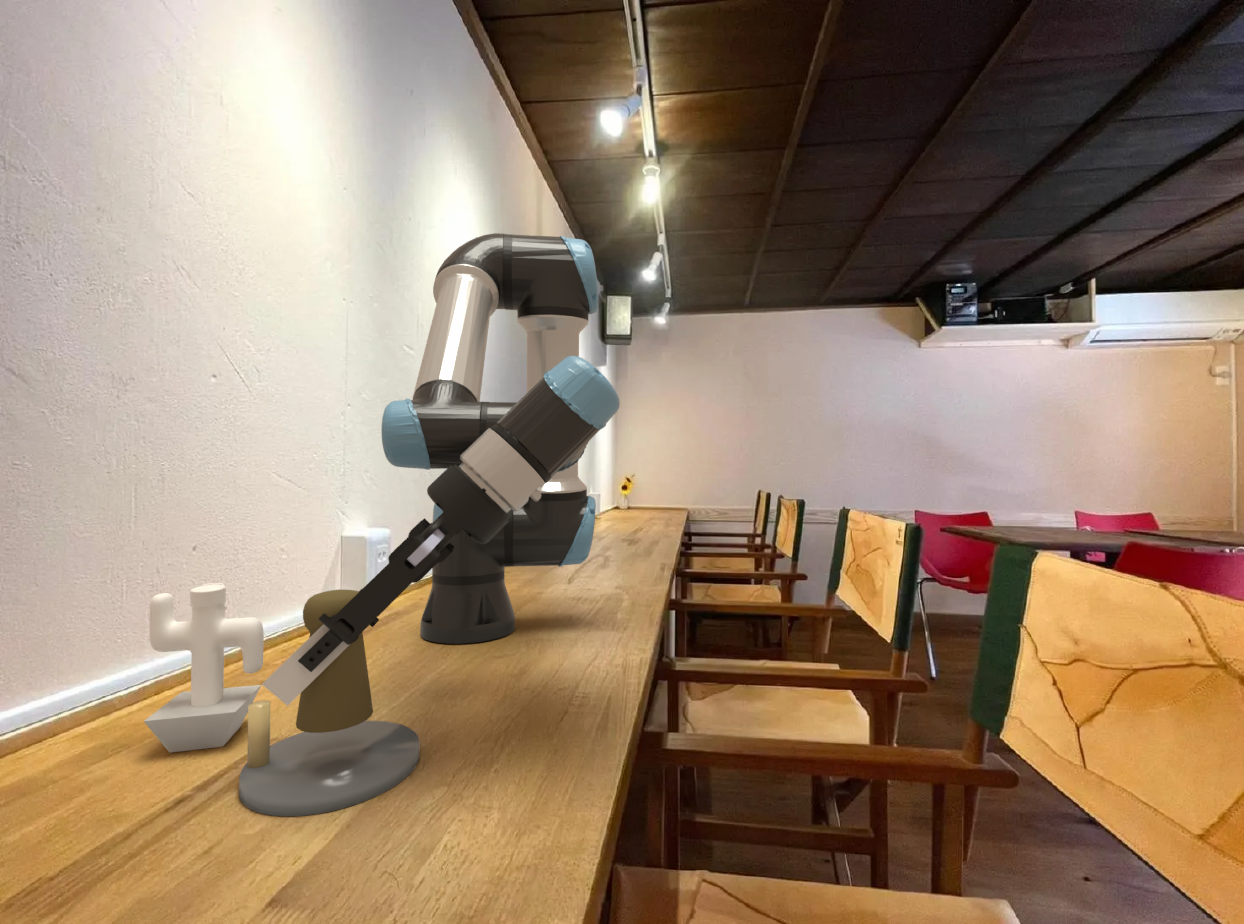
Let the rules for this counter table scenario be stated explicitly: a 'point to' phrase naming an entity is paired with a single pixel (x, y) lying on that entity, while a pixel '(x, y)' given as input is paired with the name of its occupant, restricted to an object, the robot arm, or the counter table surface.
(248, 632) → the figurine
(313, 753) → the coaster plate
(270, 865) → the counter table surface
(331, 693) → the brown rounded upright piece
